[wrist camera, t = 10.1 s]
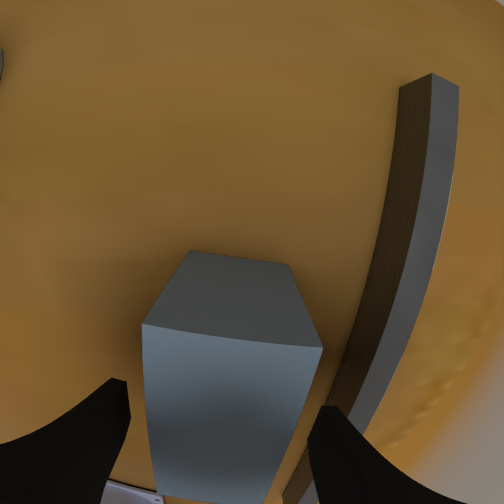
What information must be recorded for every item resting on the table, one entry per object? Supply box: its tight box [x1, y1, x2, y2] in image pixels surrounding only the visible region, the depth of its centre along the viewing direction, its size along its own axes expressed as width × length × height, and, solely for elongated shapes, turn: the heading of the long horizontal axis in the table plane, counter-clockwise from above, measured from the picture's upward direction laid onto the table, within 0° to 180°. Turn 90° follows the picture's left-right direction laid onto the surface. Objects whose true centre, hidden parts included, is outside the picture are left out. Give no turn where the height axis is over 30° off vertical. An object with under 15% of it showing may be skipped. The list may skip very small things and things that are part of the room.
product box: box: [142, 251, 323, 504], centre depth 12 cm, size 5×9×7 cm, turn 171°
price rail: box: [282, 73, 459, 504], centre depth 14 cm, size 30×2×3 cm, turn 171°
